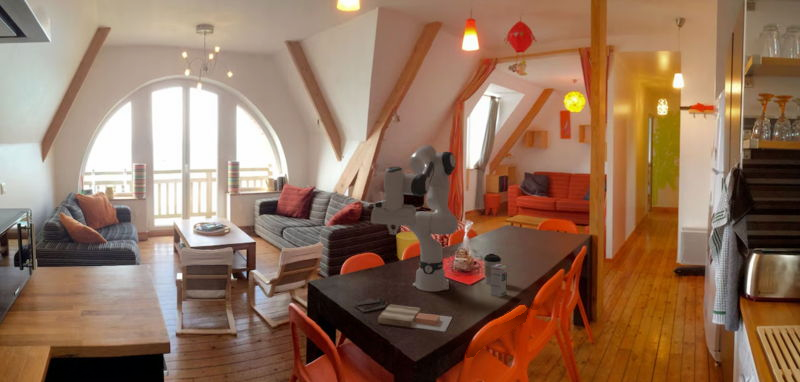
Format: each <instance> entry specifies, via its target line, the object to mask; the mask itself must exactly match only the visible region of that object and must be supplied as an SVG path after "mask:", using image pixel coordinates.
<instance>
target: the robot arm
mask: <svg viewBox="0 0 800 382" xmlns="http://www.w3.org/2000/svg"><path fill="white" fill-rule="evenodd" d="M408 164H409V168H410V170H411V171H412V172H413V173H405V172H404V170H403V167H400V166H389V167H388V168H386V169H385V171H384V177H383V178H384V179H383V190H384V194H383V199H380V200H378V201H375V202H374V203H373V204H372V207H373V208H372V210H371V215H370V222H371V223H372V224H378V225H379V224H380V225H386V227H387V229H388V231H389V235H393V236H394V235H395V236H396V235H397V234H398V229H399V228H400V226H406V227H407V228H408V229H409V230H410V231H411V232H412V233H413V234H414V235H415V237H416V238H417V240H418V242H419V248H420V259H419V262H418V264H419V265H418V266H419V268H418V269H417V270H416V271H415V272H416V274H415V282H413V283H412V287H416V288H417V289H418V290H420V291H424V292H440V291H447V290H450V287H449V286H450V281H449V279H448V278H446V271H445V269H444V261H443V260H444V259H443V249H444V248H443V246H442V244H441V242H439V241H438V240H436V239H435V238H434V237H433V236H432V234H433V235H444V236H445V235H453V234H454V233H456V231H457V230H458V227H459V222H458V221H459V220H458V218H457V216H456V214H453V212H451V210H450V209H449V206H448V205H449V204H448V200H449V194H450V178H449V176H451V175H452V174H453V171H454V170H455V169H456V165H457V159H456V156H455V155H454V154H453V152H451V151H443V152H437V151H436V149H435V148H434V147H433V146H432V145H430V144H424V145H422V146H420V147H418V148H417V149H416V150H415V151H414V152H413V153H412V154H411V155H410V157H409V160H408ZM404 195H407V196H409V195H410V196H417V197H424V196H425V195H426V199H425V203H426V206H427V207H428V208H429V209H430V210H432V211H424V210H423V211H422V210H421V211H417V207H416V206H415V205H414V204H404V200H405V199H404V197H405V196H404ZM392 226H394V228H395V229H392Z"/></svg>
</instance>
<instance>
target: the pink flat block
mask: <svg viewBox="0 0 800 382" xmlns="http://www.w3.org/2000/svg"><path fill="white" fill-rule="evenodd" d="M440 316H441V315H440ZM440 316H439V314H432V313H425V314H424V313H423V312H421V313H418V315H417V316H416V318H415V323H422V324H429V325H437V324H438V322H439V320H440Z"/></svg>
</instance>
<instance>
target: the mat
mask: <svg viewBox="0 0 800 382" xmlns="http://www.w3.org/2000/svg"><path fill="white" fill-rule="evenodd" d="M424 314H426V313H424ZM438 315H439V314H438ZM439 316H440V320H439V322H438V324H437V325H429V324H422V323H415V322H414V323H413V324H412V326H411V327H410V328H412V329H421V330H427V331H434V332H442V333H446V332H447V329H448V327H449V325H450V323H451V321H452V319H453V316H446V315H439Z"/></svg>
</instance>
